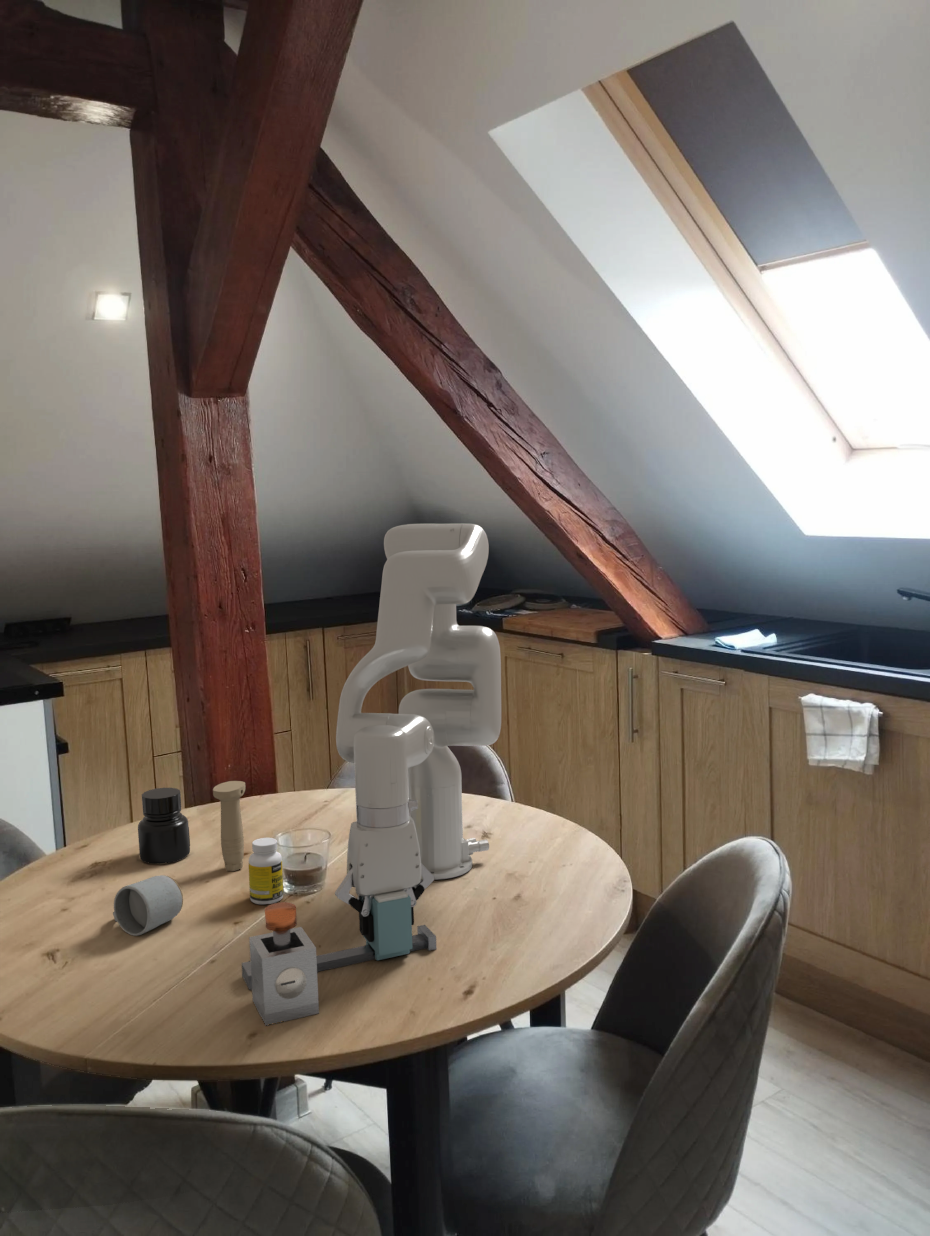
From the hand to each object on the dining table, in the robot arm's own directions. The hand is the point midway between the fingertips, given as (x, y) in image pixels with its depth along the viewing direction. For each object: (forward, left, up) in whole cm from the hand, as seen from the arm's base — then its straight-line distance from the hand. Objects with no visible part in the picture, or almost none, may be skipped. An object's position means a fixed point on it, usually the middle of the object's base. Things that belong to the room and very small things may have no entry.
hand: (387, 933), depth 156 cm
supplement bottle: (+11, -28, -3) cm, 30 cm away
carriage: (0, 0, -3) cm, 3 cm away
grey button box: (+17, +9, -3) cm, 20 cm away
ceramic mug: (+31, -27, -3) cm, 41 cm away
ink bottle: (+23, -56, -3) cm, 60 cm away
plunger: (+18, +9, +3) cm, 20 cm away
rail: (+7, 0, -3) cm, 8 cm away
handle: (+13, -44, -3) cm, 46 cm away
